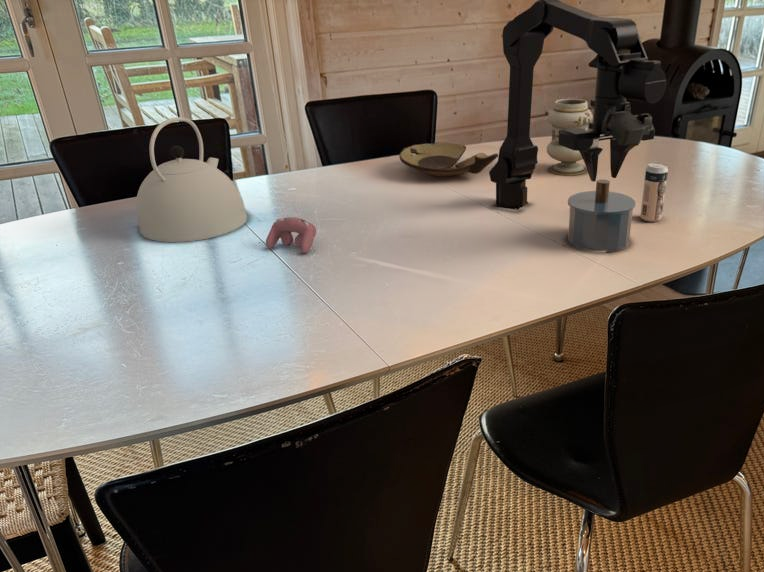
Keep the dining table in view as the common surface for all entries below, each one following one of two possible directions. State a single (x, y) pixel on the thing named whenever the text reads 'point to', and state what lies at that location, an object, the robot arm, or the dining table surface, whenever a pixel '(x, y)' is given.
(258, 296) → the dining table surface
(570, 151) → the apothecary jar
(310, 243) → the video game controller
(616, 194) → the lid
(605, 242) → the pot
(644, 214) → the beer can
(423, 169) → the oil lamp
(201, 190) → the kettle
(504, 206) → the robot arm
